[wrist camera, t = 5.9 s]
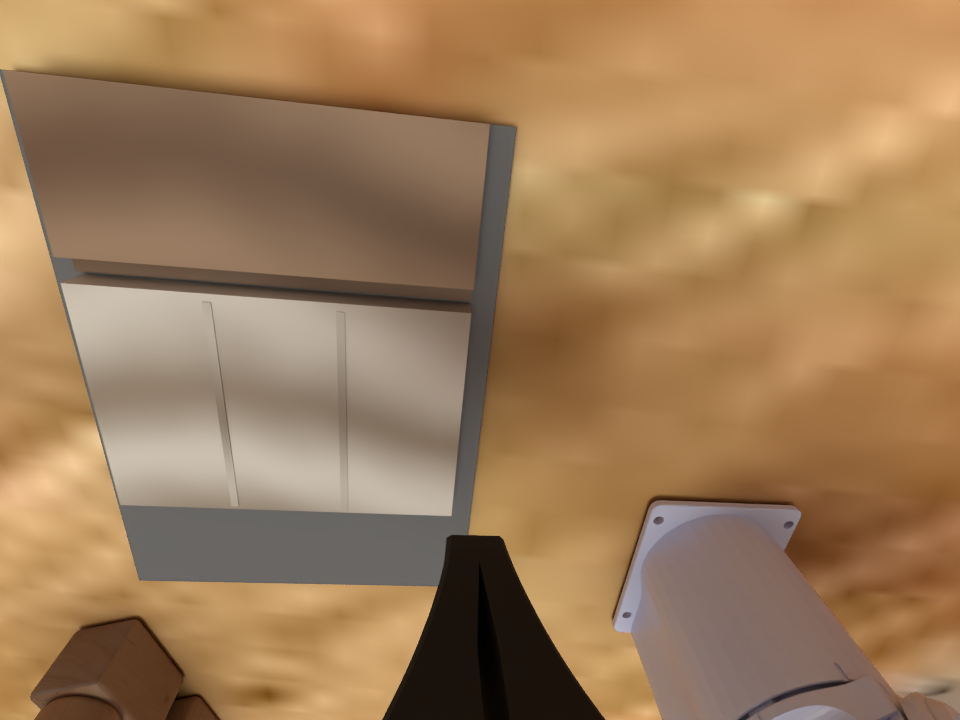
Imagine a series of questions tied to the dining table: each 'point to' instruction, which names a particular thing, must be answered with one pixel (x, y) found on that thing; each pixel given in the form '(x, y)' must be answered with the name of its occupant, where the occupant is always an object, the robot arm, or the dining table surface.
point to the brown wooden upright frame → (114, 679)
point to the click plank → (273, 394)
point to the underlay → (327, 535)
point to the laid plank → (252, 188)
